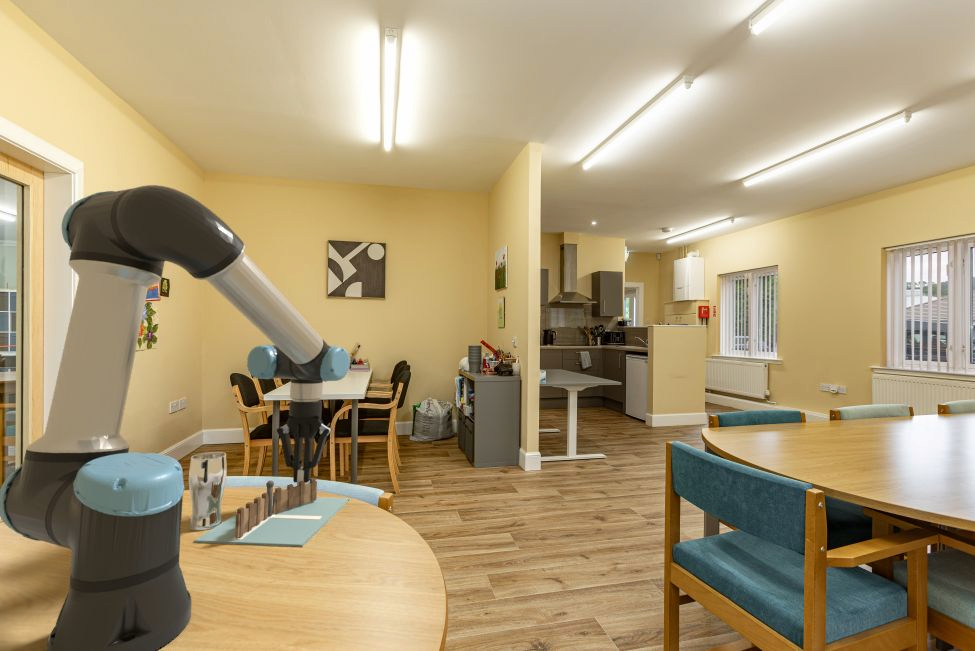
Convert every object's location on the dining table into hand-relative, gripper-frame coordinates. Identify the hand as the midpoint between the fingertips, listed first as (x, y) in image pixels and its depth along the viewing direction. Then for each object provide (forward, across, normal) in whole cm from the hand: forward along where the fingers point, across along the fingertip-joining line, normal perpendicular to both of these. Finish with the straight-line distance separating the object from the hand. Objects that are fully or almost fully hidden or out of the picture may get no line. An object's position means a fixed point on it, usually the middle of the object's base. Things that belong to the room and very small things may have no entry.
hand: (301, 495), depth 109 cm
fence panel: (+2, 0, +3) cm, 4 cm away
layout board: (+2, +1, +9) cm, 9 cm away
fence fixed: (+2, +5, +14) cm, 15 cm away
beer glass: (+3, +16, +12) cm, 20 cm away
